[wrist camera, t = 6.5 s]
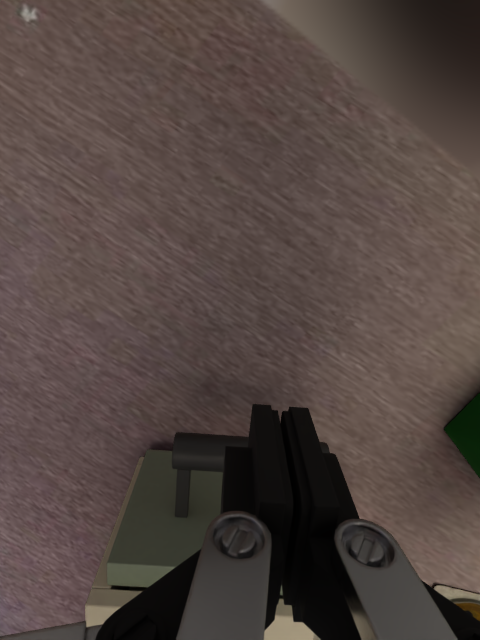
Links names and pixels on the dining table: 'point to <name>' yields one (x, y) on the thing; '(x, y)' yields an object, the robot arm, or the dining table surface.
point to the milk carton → (467, 433)
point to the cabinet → (104, 600)
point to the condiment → (462, 599)
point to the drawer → (170, 508)
